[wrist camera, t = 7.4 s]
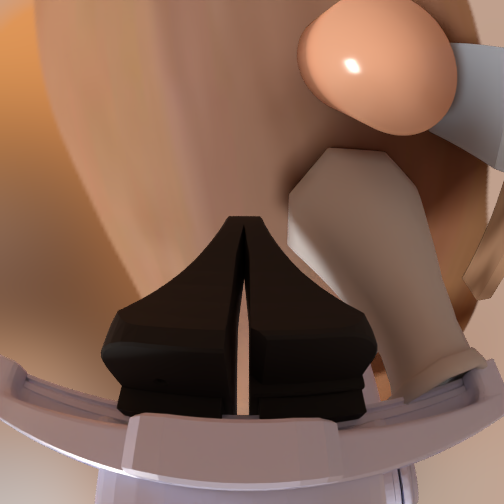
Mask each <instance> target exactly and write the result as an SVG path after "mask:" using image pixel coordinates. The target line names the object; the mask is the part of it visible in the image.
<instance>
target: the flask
mask: <svg viewBox="0 0 504 504" xmlns="http://www.w3.org/2000/svg"><path fill="white" fill-rule="evenodd" d="M287 245H288V246H289V247H290V248H291V249H292V250H293V251H294V252H295V253H296V254H297V255H298V256H299V257H300V258H301V259H302V260H303V261H304V262H305V263H306V264H307V265H309V266H310V267H311V268H312V269H313V270H314V271H315V272H316V273H317V274H318V275H319V276H320V277H321V278H322V279H323V280H324V281H325V282H326V283H327V284H328V285H329V287H330V288H331V289H332V290H333V291H334V292H335V293H336V294H337V295H338V296H339V297H340V299H341V300H342V301H343V302H344V303H346V304H348V305H350V306H352V307H354V308H356V309H357V310H359V311H361V312H363V313H364V314H365V316H366V318H367V320H368V322H369V324H370V326H371V328H372V330H373V333H374V336H375V338H376V341H377V344H378V352H379V354H380V356H381V358H382V361H383V364H384V367H385V370H386V373H387V376H388V379H389V382H390V386H391V393H392V395H391V397H390V398H389V399H388V400H391V399H395V398H399V397H404V400H405V401H404V404H409V403H410V402H411V401H413V400H414V399H416V398H418V397H420V396H421V395H423V394H425V393H426V392H428V391H430V390H431V389H433V388H435V387H438V386H441V385H444V384H447V383H450V382H453V381H455V380H458V379H461V378H463V376H464V375H465V374H466V373H467V372H468V371H469V370H471V369H473V368H476V369H477V370H479V369H484V368H486V367H487V363H486V360H485V358H484V357H483V356H482V355H481V354H480V353H479V352H478V351H477V350H476V349H475V348H472V347H471V348H470V346H469V344H468V342H467V340H466V338H465V336H464V334H463V332H462V330H461V328H460V326H459V324H458V322H457V319H456V316H455V313H454V310H453V307H452V304H451V301H450V298H449V296H448V293H447V290H446V288H445V285H444V282H443V280H442V276H441V272H440V267H439V263H438V259H437V255H436V251H435V248H434V244H433V240H432V237H431V234H430V230H429V226H428V223H427V219H426V215H425V212H424V208H423V205H422V202H421V198H420V195H419V193H418V190H417V187H416V186H415V185H414V184H413V182H412V181H411V180H410V179H409V178H408V177H407V175H406V174H405V173H404V172H403V171H402V170H401V169H400V168H399V166H398V165H397V164H396V163H395V162H394V161H393V160H392V159H391V158H390V157H389V156H388V155H387V154H386V153H385V152H382V151H371V150H359V149H342V148H327V150H326V151H325V152H324V153H323V154H322V156H321V157H320V158H319V159H318V160H317V161H316V163H315V164H314V165H313V166H312V167H311V169H310V170H309V171H308V172H307V173H306V175H305V176H304V177H303V178H302V179H301V181H300V182H299V183H298V184H297V185H296V186H295V188H294V189H293V190H292V191H291V192H290V194H289V209H288V239H287Z"/></svg>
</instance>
